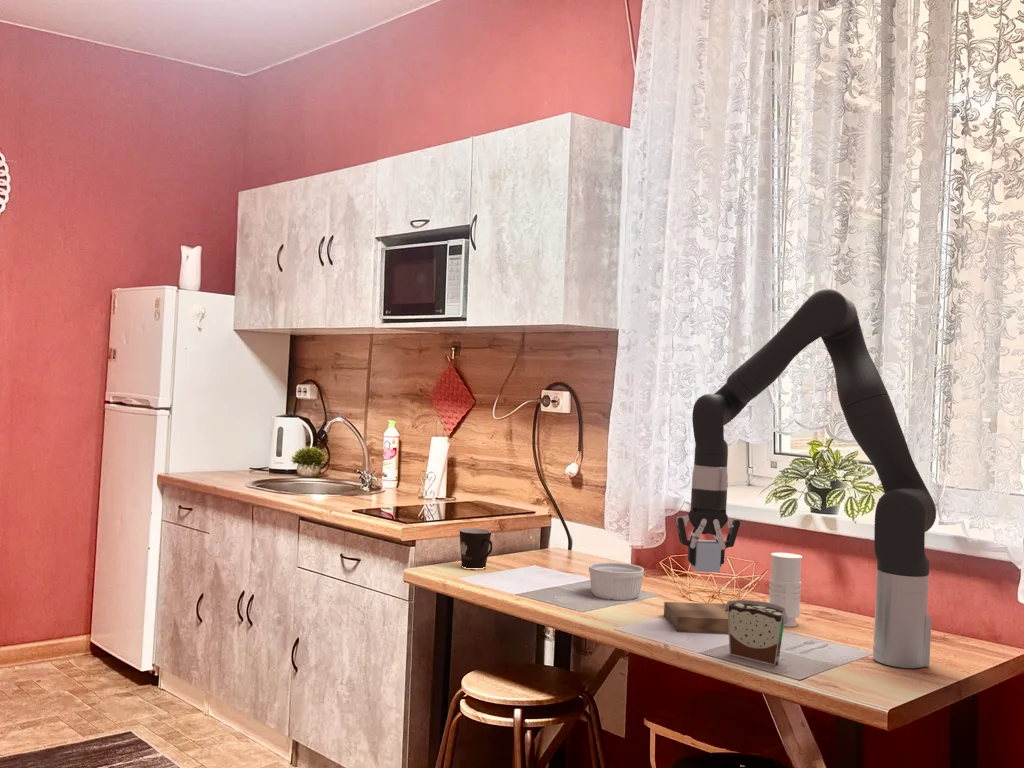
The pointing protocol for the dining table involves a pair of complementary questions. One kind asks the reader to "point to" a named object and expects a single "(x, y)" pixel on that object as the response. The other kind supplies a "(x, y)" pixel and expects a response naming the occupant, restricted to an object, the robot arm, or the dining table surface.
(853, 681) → the dining table surface
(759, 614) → the food container
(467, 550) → the coffee mug
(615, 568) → the ramekin
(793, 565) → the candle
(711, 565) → the gray block
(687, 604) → the walnut plinth
